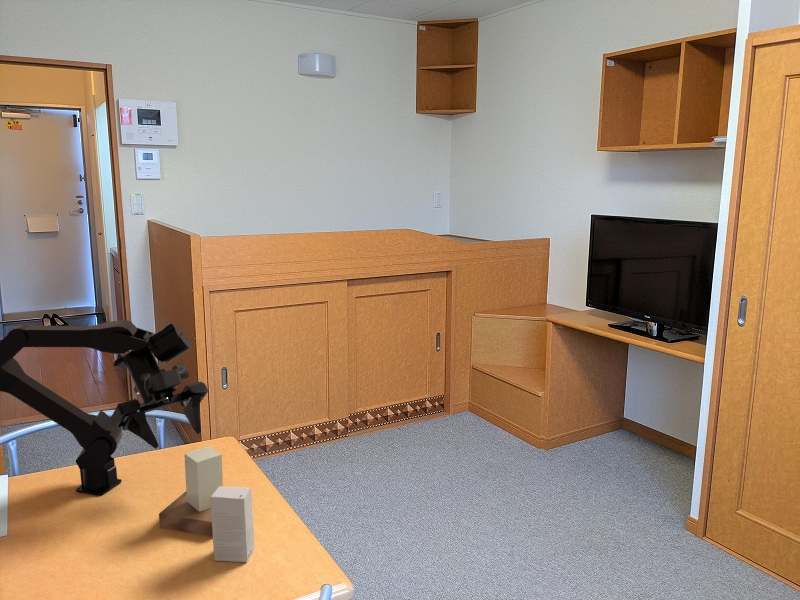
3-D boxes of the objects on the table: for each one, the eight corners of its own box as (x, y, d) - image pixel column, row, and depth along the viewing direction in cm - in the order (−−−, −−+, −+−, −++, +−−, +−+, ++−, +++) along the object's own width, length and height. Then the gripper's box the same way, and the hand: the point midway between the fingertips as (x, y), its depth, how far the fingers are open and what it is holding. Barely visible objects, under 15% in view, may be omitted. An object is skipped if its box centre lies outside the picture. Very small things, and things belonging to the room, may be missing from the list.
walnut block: (160, 530, 124) (158, 513, 123) (195, 499, 135) (194, 484, 134) (217, 540, 121) (216, 522, 120) (248, 507, 132) (247, 491, 131)
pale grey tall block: (186, 501, 127) (184, 453, 125) (210, 493, 130) (208, 446, 128) (199, 511, 123) (197, 462, 121) (223, 502, 127) (221, 454, 125)
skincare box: (255, 549, 117) (252, 486, 114) (247, 563, 113) (244, 499, 110) (222, 547, 117) (218, 485, 115) (213, 561, 113) (209, 497, 111)
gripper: (112, 363, 123) (146, 435, 118) (201, 344, 137) (234, 407, 132) (97, 394, 130) (128, 462, 125) (183, 372, 143) (214, 433, 138)
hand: (178, 440), depth 130 cm, fingers open, 9 cm apart
